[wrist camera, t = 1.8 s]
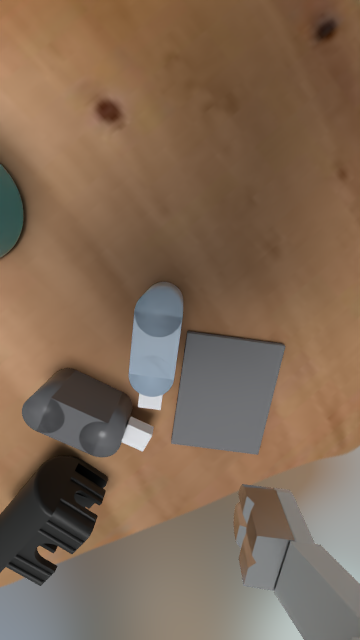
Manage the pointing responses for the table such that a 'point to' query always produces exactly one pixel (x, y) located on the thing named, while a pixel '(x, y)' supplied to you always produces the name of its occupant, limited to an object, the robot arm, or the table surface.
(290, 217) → the table surface
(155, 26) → the table surface
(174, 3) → the table surface
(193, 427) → the pad
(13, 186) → the cup
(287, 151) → the table surface
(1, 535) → the end cap
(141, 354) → the blue connector
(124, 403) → the dark gray connector
